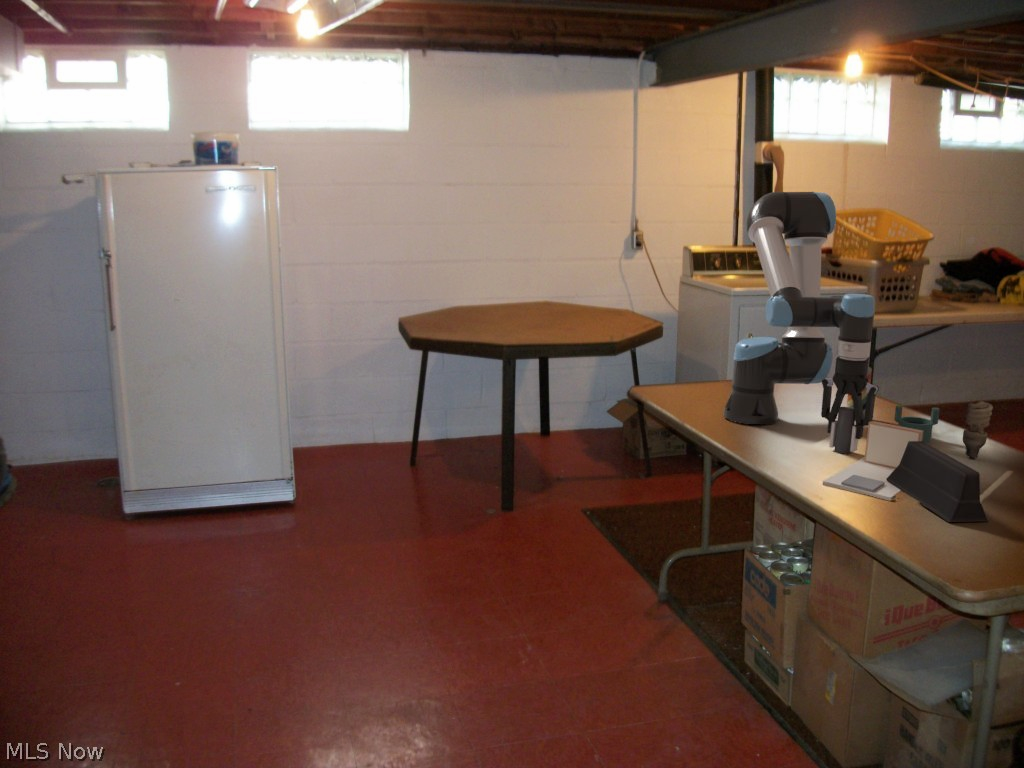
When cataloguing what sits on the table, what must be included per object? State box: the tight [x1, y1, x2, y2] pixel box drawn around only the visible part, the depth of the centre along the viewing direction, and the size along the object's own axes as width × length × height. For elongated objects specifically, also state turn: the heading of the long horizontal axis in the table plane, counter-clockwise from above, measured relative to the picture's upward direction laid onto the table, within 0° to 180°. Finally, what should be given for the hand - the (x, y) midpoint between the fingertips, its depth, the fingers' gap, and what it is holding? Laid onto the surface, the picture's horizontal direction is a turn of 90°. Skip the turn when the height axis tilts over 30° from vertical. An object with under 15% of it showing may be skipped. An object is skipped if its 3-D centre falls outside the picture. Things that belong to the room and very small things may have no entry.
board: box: [822, 456, 902, 502], centre depth 200 cm, size 15×26×1 cm, turn 138°
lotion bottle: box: [846, 355, 872, 416], centre depth 249 cm, size 6×6×20 cm
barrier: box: [886, 441, 989, 523], centre depth 184 cm, size 24×9×10 cm, turn 8°
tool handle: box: [834, 406, 856, 455], centre depth 216 cm, size 4×4×12 cm
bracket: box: [893, 405, 940, 444], centre depth 231 cm, size 9×9×9 cm
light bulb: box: [962, 400, 994, 460], centre depth 213 cm, size 6×6×15 cm
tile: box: [864, 420, 923, 469], centre depth 205 cm, size 12×2×10 cm, turn 48°
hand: (843, 448), depth 217 cm, fingers open, 4 cm apart
